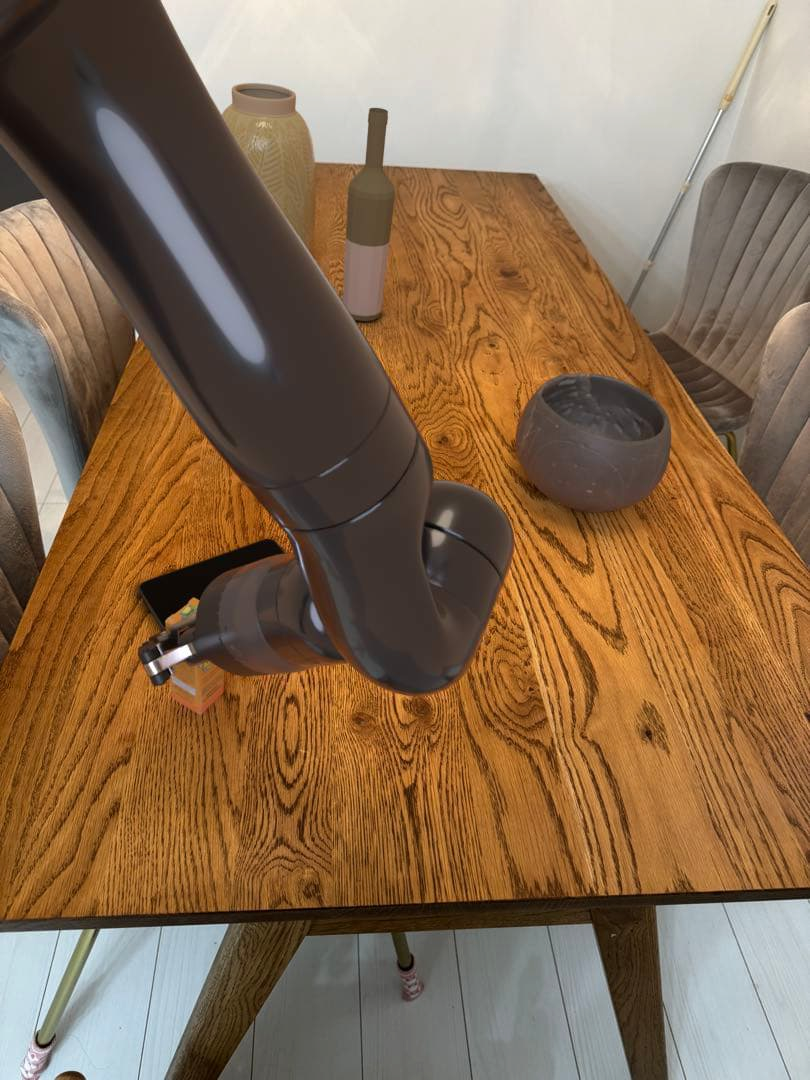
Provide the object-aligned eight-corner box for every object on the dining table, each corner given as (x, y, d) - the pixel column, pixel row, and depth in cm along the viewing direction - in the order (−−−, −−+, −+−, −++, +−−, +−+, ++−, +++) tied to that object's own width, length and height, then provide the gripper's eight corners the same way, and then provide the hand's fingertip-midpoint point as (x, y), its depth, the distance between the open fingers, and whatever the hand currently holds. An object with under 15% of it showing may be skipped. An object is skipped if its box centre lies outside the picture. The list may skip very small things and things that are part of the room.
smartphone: (166, 638, 75) (307, 583, 83) (165, 632, 75) (307, 577, 82) (135, 589, 80) (271, 540, 87) (134, 582, 79) (271, 534, 86)
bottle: (387, 310, 133) (409, 109, 113) (376, 328, 128) (396, 120, 108) (346, 301, 134) (361, 100, 114) (333, 319, 128) (346, 111, 109)
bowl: (535, 434, 110) (557, 349, 101) (664, 483, 104) (699, 397, 96) (481, 499, 97) (502, 409, 89) (625, 559, 92) (661, 468, 84)
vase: (191, 257, 140) (181, 82, 122) (266, 236, 150) (267, 72, 133) (260, 293, 132) (260, 112, 115) (333, 268, 143) (344, 99, 125)
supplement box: (202, 718, 68) (194, 638, 61) (170, 699, 69) (160, 618, 62) (228, 692, 70) (223, 612, 64) (198, 674, 71) (190, 593, 65)
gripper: (332, 521, 57) (232, 558, 70) (152, 614, 48) (78, 635, 62) (378, 617, 58) (270, 635, 71) (208, 724, 49) (123, 721, 63)
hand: (181, 635), depth 67 cm, fingers closed on supplement box, 4 cm apart
